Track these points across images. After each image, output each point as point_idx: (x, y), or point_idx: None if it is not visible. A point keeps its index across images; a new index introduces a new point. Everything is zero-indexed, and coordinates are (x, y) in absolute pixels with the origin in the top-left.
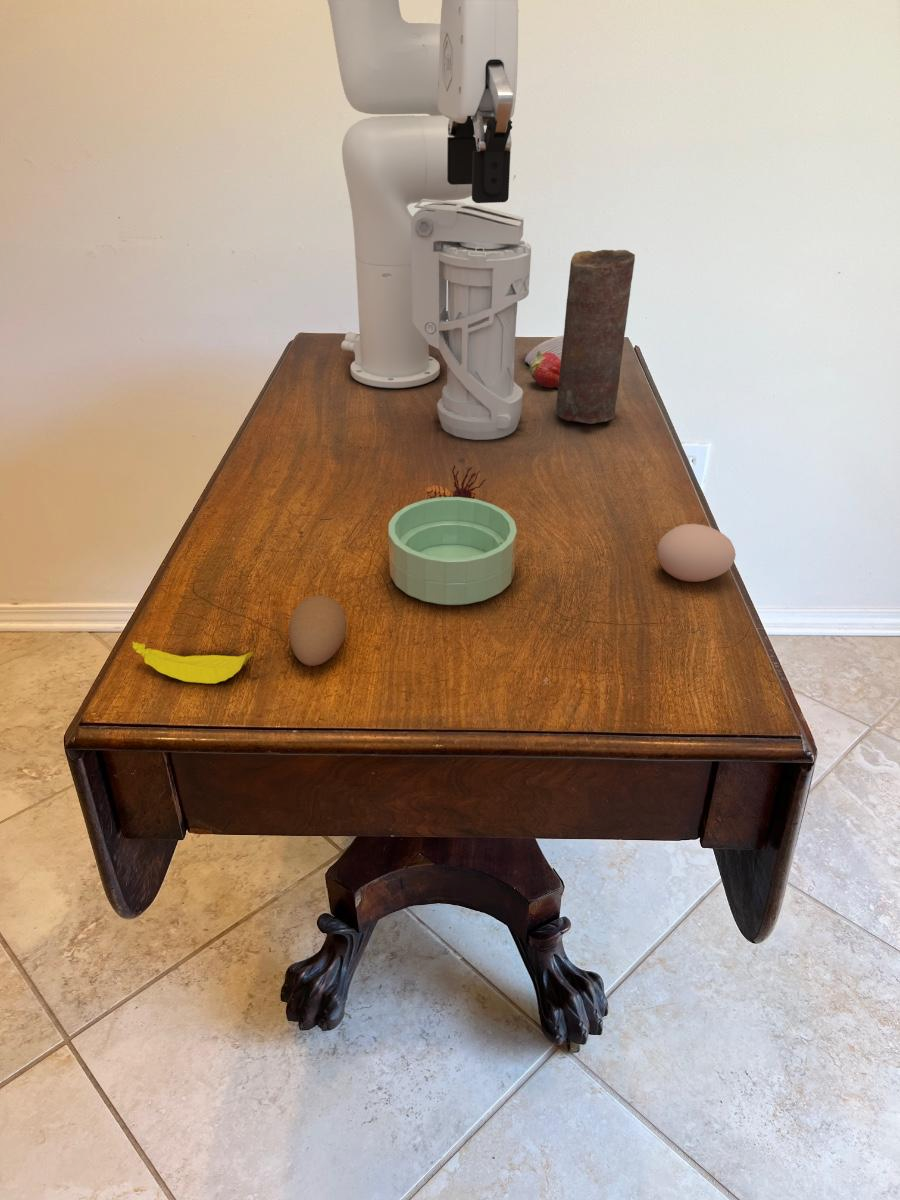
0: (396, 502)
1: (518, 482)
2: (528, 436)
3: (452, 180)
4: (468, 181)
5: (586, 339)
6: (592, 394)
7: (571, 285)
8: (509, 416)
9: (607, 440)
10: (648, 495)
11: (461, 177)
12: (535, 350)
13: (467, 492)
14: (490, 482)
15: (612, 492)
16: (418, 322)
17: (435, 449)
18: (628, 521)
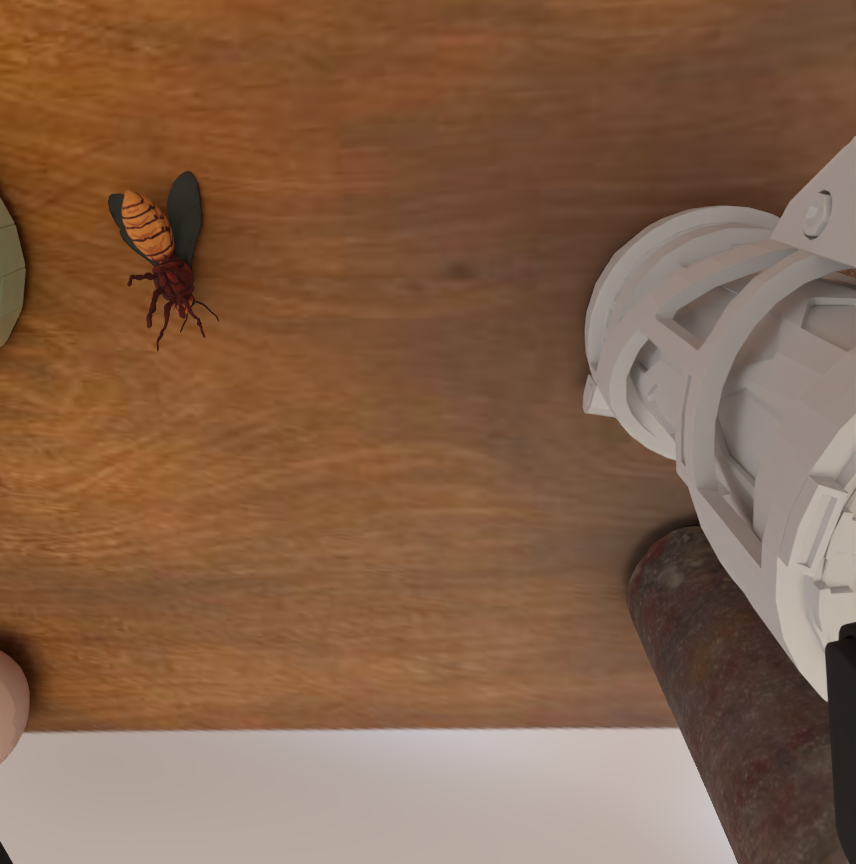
0: (209, 101)
1: (343, 407)
2: (603, 443)
3: (839, 665)
4: (842, 777)
5: (705, 709)
6: (646, 635)
7: None
8: (606, 415)
9: (570, 612)
10: (301, 656)
11: (852, 752)
12: None
13: (171, 295)
14: (339, 343)
15: (309, 594)
16: (845, 164)
17: (530, 198)
18: (185, 607)
